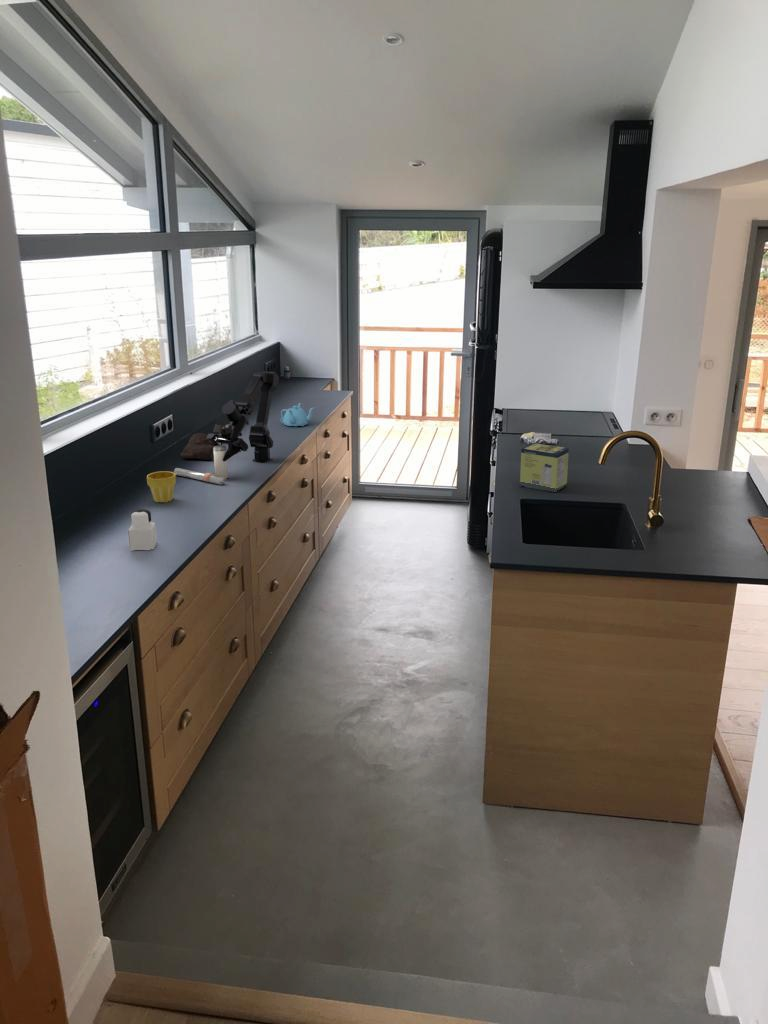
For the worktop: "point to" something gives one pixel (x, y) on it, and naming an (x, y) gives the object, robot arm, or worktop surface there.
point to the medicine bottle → (142, 531)
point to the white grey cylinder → (220, 461)
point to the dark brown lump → (198, 447)
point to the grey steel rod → (200, 476)
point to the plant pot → (162, 485)
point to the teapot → (296, 416)
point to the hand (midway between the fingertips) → (217, 459)
